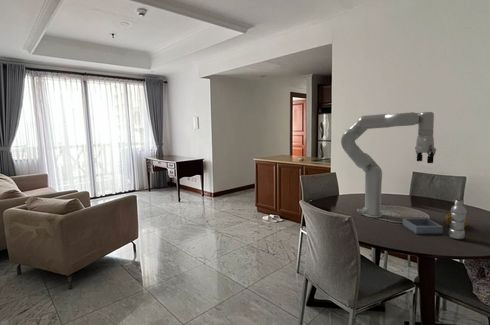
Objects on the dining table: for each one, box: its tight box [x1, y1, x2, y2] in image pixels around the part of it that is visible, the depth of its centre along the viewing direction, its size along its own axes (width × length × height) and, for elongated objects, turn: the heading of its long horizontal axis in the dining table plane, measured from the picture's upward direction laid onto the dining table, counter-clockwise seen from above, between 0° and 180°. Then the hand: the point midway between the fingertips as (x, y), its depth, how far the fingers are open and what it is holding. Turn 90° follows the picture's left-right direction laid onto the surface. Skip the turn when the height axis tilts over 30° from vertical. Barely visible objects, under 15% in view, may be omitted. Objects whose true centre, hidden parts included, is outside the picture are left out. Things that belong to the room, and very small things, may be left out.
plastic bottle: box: [448, 198, 468, 240], centre depth 145 cm, size 6×7×20 cm
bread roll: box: [444, 212, 468, 229], centre depth 163 cm, size 13×10×8 cm
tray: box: [401, 217, 444, 235], centre depth 159 cm, size 14×14×4 cm
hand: (424, 162), depth 170 cm, fingers open, 9 cm apart
